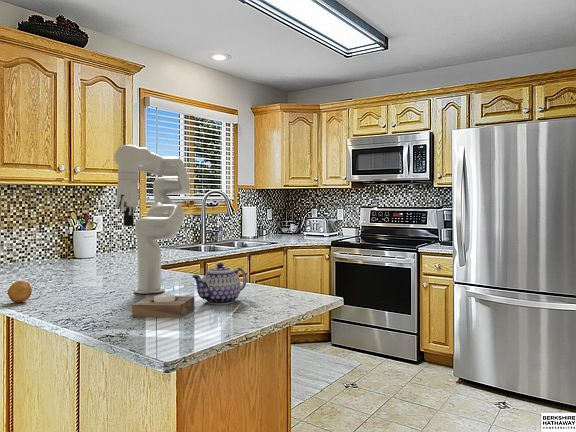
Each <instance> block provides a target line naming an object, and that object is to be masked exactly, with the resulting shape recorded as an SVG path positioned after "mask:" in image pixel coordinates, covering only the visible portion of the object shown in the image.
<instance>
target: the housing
mask: <svg viewBox="0 0 576 432" xmlns="http://www.w3.org/2000/svg"><path fill="white" fill-rule="evenodd" d="M154 296H155V295H149V296H147V297H145V298H143V299H141V300H140V301H137V302H134V303H132V305H131V309H132V310H131V312H132V314H131V315H132V318H133V317H134V318H135V317H136V318H173V319H174V318H177V319H179V318H182V317H183V316H184V315H185V314H187V313H188V312H190V311H192V309H194V308H195V296H194V295H193V296H191V295H185V296H184V295H175V301H174V302H172V303H157V302H154Z"/></svg>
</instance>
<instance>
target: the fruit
mask: <svg viewBox="0 0 576 432" xmlns="http://www.w3.org/2000/svg"><path fill="white" fill-rule="evenodd" d="M32 292H33V291H32V286H31V284H30V283H29V282H28V281H23V280H17V281H15V282H13V283H12V284H11V285H10V287H9V288H8V290H7V295H8V299H10V301H12V302H14V303H25V302H26V301H28V300H29V298H30V297H31V295H32Z"/></svg>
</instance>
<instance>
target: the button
mask: <svg viewBox="0 0 576 432" xmlns="http://www.w3.org/2000/svg"><path fill="white" fill-rule="evenodd" d="M153 296H154V302H157V303H172V302H174V301H175V296H176V295H175V294H157V295H153Z"/></svg>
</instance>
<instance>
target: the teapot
mask: <svg viewBox="0 0 576 432" xmlns="http://www.w3.org/2000/svg"><path fill="white" fill-rule="evenodd" d="M224 265H225V264H224V263H223V262H217V264H216V267H213V268H209V269H207V272H206V274H205V275H203V276H202V277H201V276H200V275H199V274H194V275H192V276H191V277H192V278H194V280H195V283H196V291H197V294H198V296H199V298H201V299H202V300H206V301H207V303H208V304H210V305H229V304H233V303H234V302H235V301H236V299H238V298H239V295H240V294H241V291H243V290H244V289H245V287H246V285H247V281H248V279H247V278H248V277H247V274H246V272H245V270H244V269H243V268H241V267H237V268H235V270H234V269H233V268H230V267H227V266H226V267H224ZM239 272H241V274H242V284H241V278H240V276H239V275H238V273H239Z"/></svg>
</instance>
